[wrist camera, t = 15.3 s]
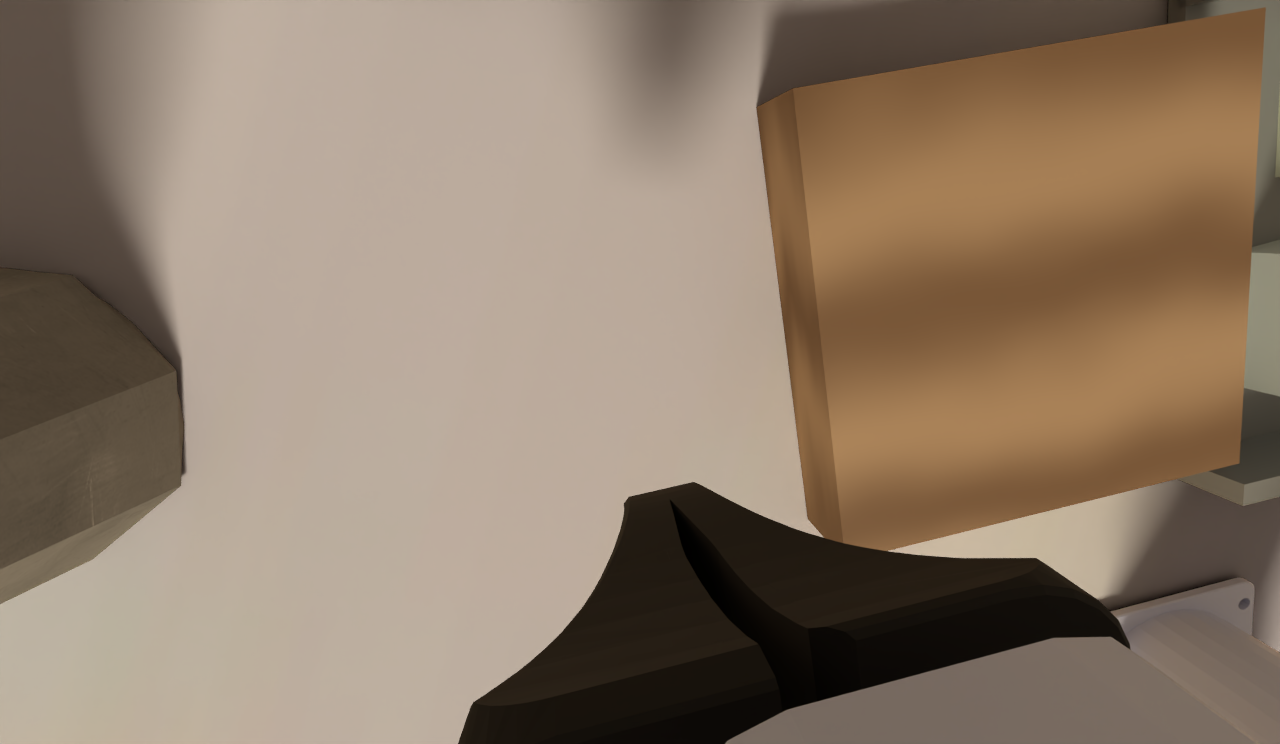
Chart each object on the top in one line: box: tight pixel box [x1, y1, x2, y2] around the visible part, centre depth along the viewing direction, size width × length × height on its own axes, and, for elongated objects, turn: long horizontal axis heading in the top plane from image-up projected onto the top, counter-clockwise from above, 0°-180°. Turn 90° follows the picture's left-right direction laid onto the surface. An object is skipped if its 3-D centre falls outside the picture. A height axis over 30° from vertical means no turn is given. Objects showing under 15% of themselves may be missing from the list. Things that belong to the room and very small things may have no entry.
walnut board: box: [757, 7, 1266, 551], centre depth 21 cm, size 14×14×3 cm
